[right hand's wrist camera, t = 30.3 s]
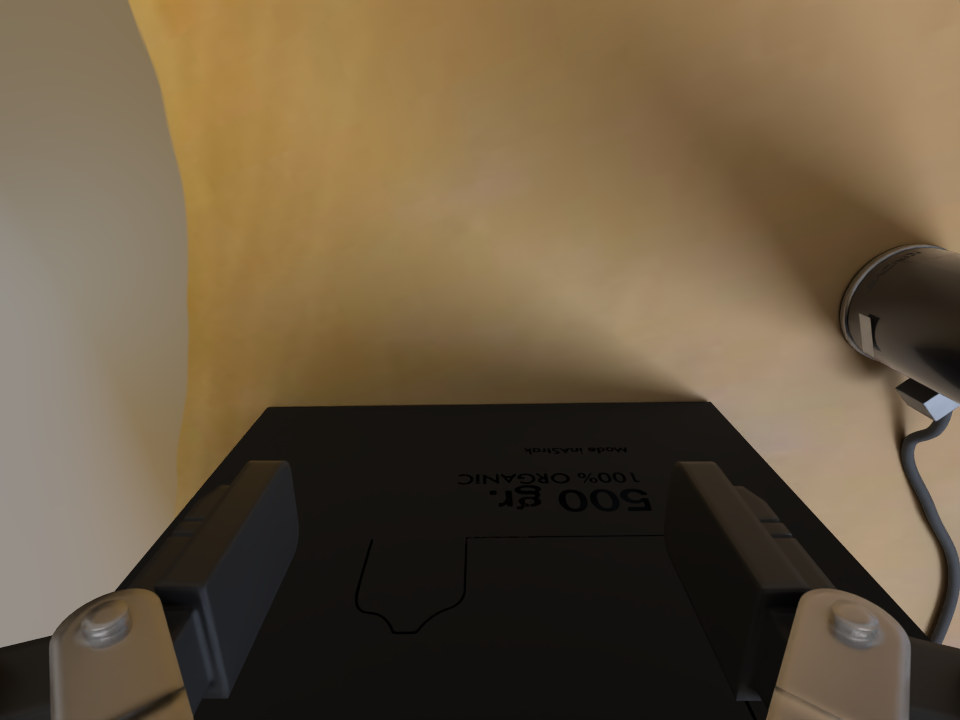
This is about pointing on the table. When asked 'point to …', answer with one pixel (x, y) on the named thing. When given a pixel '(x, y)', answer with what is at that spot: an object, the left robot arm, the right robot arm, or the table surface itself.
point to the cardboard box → (496, 564)
